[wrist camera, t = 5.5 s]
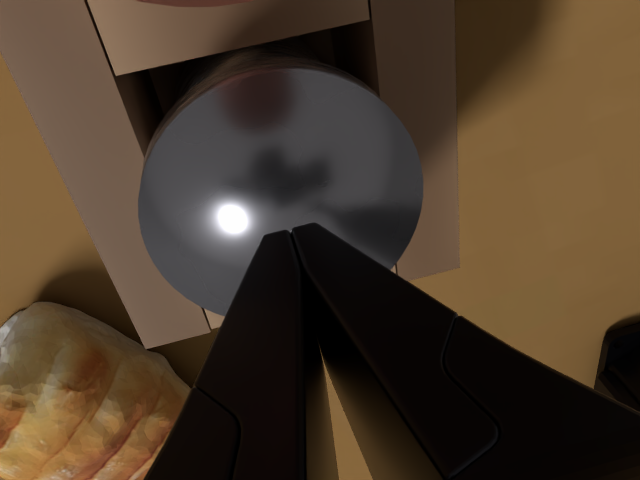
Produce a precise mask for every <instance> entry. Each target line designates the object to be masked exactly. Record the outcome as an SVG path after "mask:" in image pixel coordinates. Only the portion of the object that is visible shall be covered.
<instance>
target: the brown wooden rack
mask: <svg viewBox="0 0 640 480" xmlns="http://www.w3.org/2000/svg"><path fill="white" fill-rule="evenodd" d="M293 36H297V37H298V38H299V39H301V40H302V41H303V42H304V43H305V44H306V45H307V46H308V47H309V48H310V49H311V50H312V51H313V53H314V54H315V55H316V57H317V58H318V59H319V61H320V62H322V63H325V64H329V65H331V66H334V67H336V68H339V69H341V70H343V71H346V72H347V73H349V74H351V75H352V76H354V77H356V78H358V79H359V80H361V81H362V82H363V83H365V84H366V85H367V86H368V87H370V88H371V89H372V90H373V91H374V92H375V93H376V94H377V95H378V96H379V97H380V98H381V99H382V100H383V101H384V102H385V103H386V105H387V106H388V107H389V108H390V109H391V110H392V111H393V113H394V114H395V115H396V116H397V117H398V118H399V119H400V121H401V122H402V124H403V125H404V127H405V128H406V130H407V131H408V133H409V134H410V136H411V138H412V140H413V143H414V145H415V147H416V149H417V152H418V156H419V159H420V162H421V167H422V174H423V201H422V208H421V213H420V217H419V220H418V224H417V227H416V229H415V232H414V234H413V236H412V239H411V241H410V243H409V244H408V246H407V248H406V250H405V251H404V253H403V255H402V256H401V257H400V259H399V260H398V261H397V263H396V264H395V265H394V267H393V268H392V269H391V271H392V272H394V273H396V274H397V275H399V276H400V277H402V278H403V279H405V280H406V281H410V280H414V279H418V278H421V277H425V276H429V275H433V274H437V273H441V272H444V271H448V270H452V269H456V268H460V257H459V205H458V152H457V99H456V46H455V0H253V1H250V2H245V3H238V4H231V5H224V6H217V7H175V6H167V5H159V4H152V3H144V2H140V1H136V0H0V52H1V54H2V56H3V58H4V60H5V62H6V64H7V66H8V68H9V71H10V73H11V75H12V77H13V79H14V81H15V83H16V85H17V87H18V89H19V91H20V93H21V95H22V97H23V99H24V101H25V103H26V105H27V107H28V109H29V111H30V114H31V116H32V118H33V120H34V122H35V124H36V126H37V128H38V130H39V132H40V134H41V136H42V138H43V140H44V142H45V144H46V146H47V148H48V150H49V152H50V154H51V157H52V159H53V161H54V163H55V165H56V167H57V169H58V171H59V173H60V175H61V177H62V179H63V181H64V183H65V185H66V187H67V189H68V191H69V193H70V195H71V197H72V200H73V202H74V204H75V206H76V208H77V210H78V212H79V214H80V216H81V218H82V220H83V222H84V224H85V226H86V228H87V230H88V232H89V234H90V236H91V238H92V241H93V243H94V245H95V247H96V249H97V251H98V253H99V255H100V257H101V259H102V261H103V263H104V265H105V267H106V269H107V271H108V273H109V275H110V277H111V279H112V281H113V284H114V286H115V288H116V290H117V292H118V294H119V296H120V298H121V300H122V302H123V304H124V306H125V308H126V310H127V312H128V314H129V316H130V318H131V320H132V322H133V324H134V327H135V329H136V331H137V333H138V335H139V337H140V339H141V341H142V343H143V345H144V347H145V349H149V348H153V347H157V346H160V345H164V344H168V343H172V342H176V341H180V340H183V339H187V338H191V337H195V336H199V335H203V334H206V333H210V332H211V329H213V328H217V327H220V326H221V324H222V322H223V320H224V318H225V316H221V315H218V314H215V313H213V312H211V311H209V310H206V309H204V308H202V307H200V306H198V305H197V304H195V303H193V302H192V301H190V300H188V299H187V298H186V297H184V296H183V295H182V294H181V293H179V292H178V291H177V290H176V289H174V288H173V287H172V286H171V285H170V284H169V282H168V281H167V280H166V279H165V278H164V277H163V276H162V275H161V273H160V272H159V270H158V269H157V268H156V266H155V265H154V263H153V261H152V259H151V257H150V256H149V254H148V252H147V250H146V247H145V244H144V241H143V238H142V235H141V230H140V225H139V219H138V196H139V190H140V183H141V176H142V169H143V162H144V158H145V155H146V152H147V148H148V145H149V143H150V141H151V139H152V136H153V134H154V132H155V130H156V128H157V126H158V125H159V124H160V122H161V121H162V119H163V118H164V116H165V115H166V113H167V112H168V111H169V110H170V109H171V107H172V106H173V105H174V104H175V88H176V82H177V78H178V75H179V72H180V69H181V67H182V65H183V63H184V61H185V60H189V59H194V58H198V57H203V56H207V55H212V54H216V53H221V52H225V51H230V50H234V49H239V48H243V47H248V46H252V45H257V44H261V43H266V42H270V41H275V40H279V39H284V38H288V37H293ZM210 326H211V329H210Z"/></svg>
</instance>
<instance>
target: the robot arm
mask: <svg viewBox="0 0 640 480" xmlns="http://www.w3.org/2000/svg"><path fill="white" fill-rule="evenodd" d="M319 346H320V347H319ZM320 350H321V351H320ZM321 353H322V356H321ZM322 357H323V360H324V363H325V366H326V368H327V371H328V374H329V376H330V379H331V381H332V383H333V386H334V388H335V390H336V393H337V395H338V398H339V400H340V402H341V405H342V407H343V409H344V412H345V414H346V416H347V419H348V421H349V424H350V426H351V428H352V431H353V433H354V435H355V438H356V440H357V442H358V445H359V447H360V450H361V452H362V454H363V457H364V459H365V461H366V464H367V466H368V468H369V471H370V473H371V476H372V478H373V480H640V323H639V324H635V325H632V326H628V327H624V328H621V329H617V330H614V331H612V332H610V333H608V334H607V335H606V336H605V337H604V340H603V343H602V348H601V354H600V359H599V364H598V369H597V375H596V380H595V385H594V389H592V388H590V387H588V386H586V385H584V384H582V383H580V382H578V381H576V380H574V379H572V378H570V377H568V376H566V375H564V374H562V373H560V372H558V371H556V370H554V369H552V368H551V367H549V366H547V365H545V364H543V363H541V362H539V361H537V360H536V359H534V358H532V357H530V356H528V355H526V354H524V353H522V352H520V351H519V350H517V349H515V348H513V347H511V346H510V345H508V344H506V343H505V342H503V341H501V340H500V339H498V338H496V337H495V336H493V335H491V334H490V333H488V332H486V331H485V330H483V329H481V328H480V327H478V326H477V325H475V324H474V323H472V322H471V321H469V320H467V319H466V318H464V317H463V316H458V314H457V313H456V312H455V311H453V310H451V309H450V308H448V307H447V306H445V305H444V304H442V303H441V302H439V301H437V300H436V299H434V298H433V297H431V296H430V295H428V294H427V293H425V292H424V291H422V290H420V289H419V288H417V287H416V286H414V285H413V284H411V283H410V282H408V281H406V280H405V279H403V278H402V277H400V276H399V275H397V274H396V273H394V272H392V271H391V270H389V269H388V268H386V267H385V266H383V265H382V264H380V263H378V262H377V261H375V260H374V259H372V258H371V257H369V256H368V255H366V254H364V253H363V252H361V251H360V250H358V249H357V248H355V247H354V246H352V245H351V244H349V243H347V242H346V241H344V240H343V239H341V238H340V237H338V236H337V235H335V234H333V233H332V232H330V231H329V230H327V229H326V228H324V227H323V226H321V225H319V224H318V223H315V222H313V223H309V224H305V225H301V226H297V227H294V228H292V229H291V234H290V232H289V231H288V230H281V231H277V232H273V233H269V234H265V235H264V236H263V237H262V238H261V240H260V243H259V245H258V247H257V249H256V251H255V253H254V255H253V258H252V260H251V262H250V264H249V266H248V268H247V270H246V273H245V275H244V277H243V279H242V281H241V283H240V285H239V288H238V290H237V292H236V294H235V296H234V298H233V300H232V303H231V305H230V307H229V309H228V311H227V313H226V315H225V318H224V320H223V322H222V324H221V326H220V328H219V330H218V333H217V335H216V337H215V339H214V341H213V343H212V345H211V347H210V350H209V352H208V354H207V356H206V358H205V360H204V362H203V365H202V367H201V369H200V371H199V373H198V375H197V377H196V380H195V382H194V384H193V386H194V387H193V388H191V390H190V392H189V394H188V396H187V398H186V400H185V403H184V405H183V407H182V409H181V411H180V413H179V415H178V417H177V419H176V421H175V423H174V425H173V427H172V429H171V431H170V433H169V435H168V437H167V439H166V441H165V442H164V444H163V446H162V448H161V450H160V451H159V453H158V455H157V456H156V458H155V460H154V462H153V463H152V465H151V467H150V468H149V470H148V472H147V474H146V475H145V477H144V479H143V480H339V477H338V469H337V461H336V454H335V446H334V438H333V431H332V423H331V415H330V407H329V400H328V392H327V384H326V377H325V371H324V365H323V360H322Z"/></svg>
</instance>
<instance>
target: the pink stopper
mask: <svg viewBox="0 0 640 480" xmlns="http://www.w3.org/2000/svg"><path fill="white" fill-rule="evenodd" d="M136 1H140V2H144V3H152V4H159V5H167V6H175V7H217V6H224V5H231V4H238V3H245V2H250V1H253V0H136Z"/></svg>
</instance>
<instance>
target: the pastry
mask: <svg viewBox="0 0 640 480" xmlns="http://www.w3.org/2000/svg"><path fill="white" fill-rule="evenodd" d="M190 390H191V388H190V387H189V386H188V385H187V384H186V383H184V382H183V381H182V380H181V379H180V378H179V377H178V376H177V375H176V374H175V372H174V371H173V369H172V368H171V366H170V364H169V363H168V361H167V359H166V358H165V357H164V356H162V355H161V354H160V353H157V352H150V351H148V350H146V349H145V348H144V347H143V346H142V345H140V344H139V343H137V342H136V341H134V340H132V339H130V338H128V337H126V336H124V335H123V334H122V333H120V332H118V331H117V330H115V329H114V328H112V327H111V326H109V325H107V324H105V323H103V322H101V321H99V320H98V319H96V318H93V317H91V316H89V315H87V314H85V313H83V312H82V311H80V310H77V309H74V308H70V307H66V306H63V305H61V304H57V303H53V302H36V303H33V304H31V306H30V307H28V308H27V309H26V310H24V311H19V312H17V313H16V314H15V315H13V316H12V317H11V318H10V319H9V320H8V321H7V322H5V324H4V325H3V326H2V327H1V328H0V477H1V478H4V479H6V480H143V479H144V477H145V475H146V474H147V472H148V470H149V468H150V467H151V465H152V463H153V462H154V460H155V458H156V456H157V455H158V453H159V451H160V450H161V448H162V446H163V444H164V442H165V441H166V439H167V437H168V435H169V433H170V431H171V429H172V427H173V425H174V423H175V421H176V419H177V417H178V415H179V413H180V411H181V409H182V407H183V405H184V403H185V400H186V398H187V396H188V394H189V392H190Z"/></svg>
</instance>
